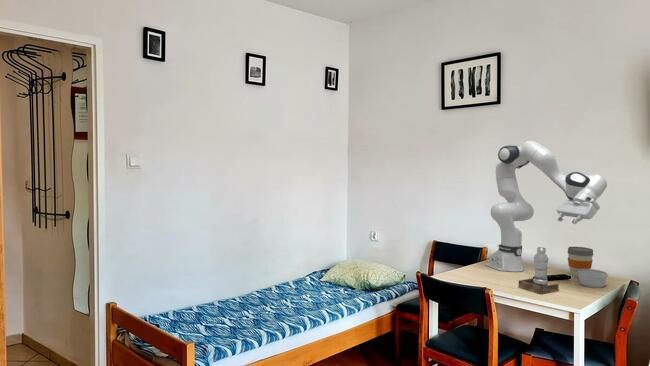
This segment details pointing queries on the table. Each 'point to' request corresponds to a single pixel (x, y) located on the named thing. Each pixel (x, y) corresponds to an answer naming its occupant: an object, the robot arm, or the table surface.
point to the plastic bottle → (540, 267)
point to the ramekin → (592, 277)
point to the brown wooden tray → (537, 287)
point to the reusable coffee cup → (579, 259)
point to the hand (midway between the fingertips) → (566, 221)
